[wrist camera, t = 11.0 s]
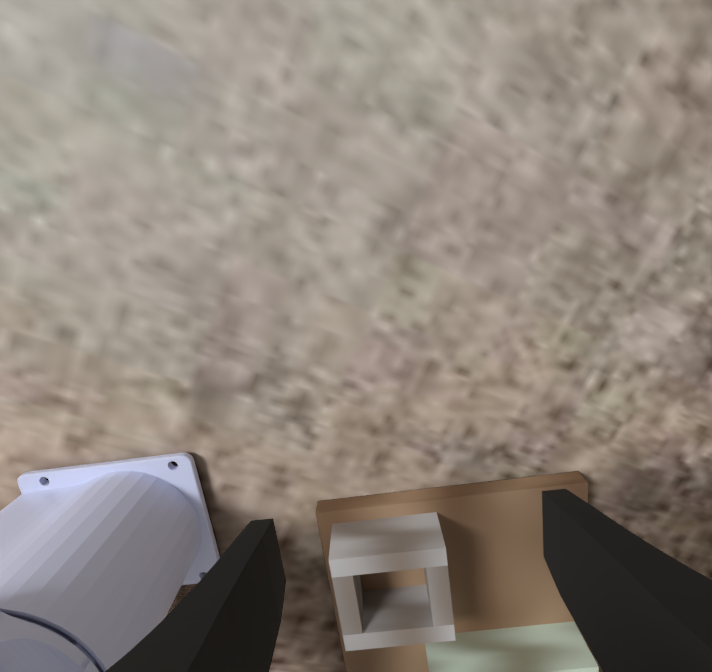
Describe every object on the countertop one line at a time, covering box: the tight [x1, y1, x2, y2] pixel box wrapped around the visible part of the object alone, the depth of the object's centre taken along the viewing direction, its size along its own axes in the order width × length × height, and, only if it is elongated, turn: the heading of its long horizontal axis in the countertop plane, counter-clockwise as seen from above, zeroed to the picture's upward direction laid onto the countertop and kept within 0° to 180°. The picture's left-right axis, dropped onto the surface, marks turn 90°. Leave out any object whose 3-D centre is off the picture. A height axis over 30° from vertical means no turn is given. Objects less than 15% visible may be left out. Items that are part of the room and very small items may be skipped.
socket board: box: [316, 471, 599, 672], centre depth 23 cm, size 14×20×4 cm
